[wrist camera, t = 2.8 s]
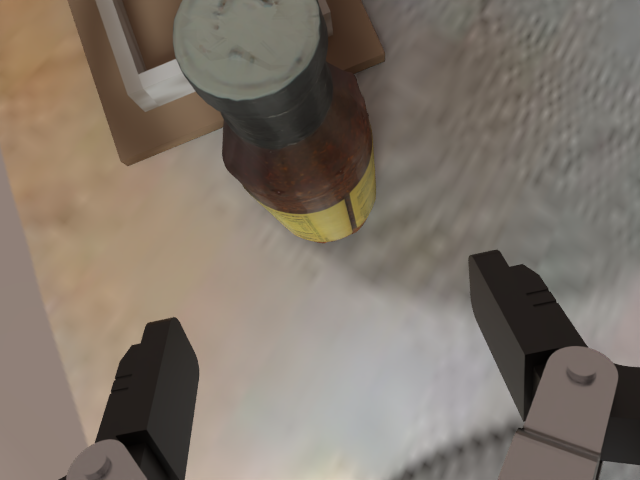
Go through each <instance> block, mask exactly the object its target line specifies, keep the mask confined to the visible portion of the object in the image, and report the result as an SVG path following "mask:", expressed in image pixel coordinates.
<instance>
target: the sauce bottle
mask: <svg viewBox="0 0 640 480" xmlns="http://www.w3.org/2000/svg"><path fill="white" fill-rule="evenodd" d="M173 47H174V53H175V58H176V60H177V62H178V64H179V67H180V69H181V71H182V73H183V75H184V76H185V78H186V79H187V80H188V82H189V83H190V84H191V86H192V87H193V89H194V90H195V91H196V93H197V94H198V95H199V96H200V97H201V98H202V99H203V100H204V101H205V102H206V103H207V104H209V105H210V106H212V107H213V108H214V109H216V110H217V111H219V112H220V113H221V115H222V117H223V119H224V123H223V147H222V156H223V161H224V164H225V167H226V168H227V170H228V171H229V172H230V173H231V174H232V175H233V176H234V177H235V178H236V179H237V180H238V181H240V183H241V184H242V185H243V187H244V188H245V189H246V190H247V191H248V193H249V194H250V195H251V196H252V197H253V198H255V199H256V200H257V201H258V202H259V203H260V204H261V205H262V206H263V207H264V208H266V209H267V210H268V211H269V212H270V213H271V214H272V215H273V216H274V217H275V218H276V219H277V220H279V221H280V222H281V223H282V224H283V225H284V226H285V227H286V228H287V229H288V230H289V231H291V232H292V233H293V234H294V235H296V236H298V237H301V238H303V239H306V240H310V241H314V242H319V243H326V242H330V241H336V240H339V239H342V238H344V237H347V236H349V235H350V234H353V233H355V232H357V231H358V230H359V229H360V228H361V226H362V225H363V224H364V222H365V221H366V219H367V217H368V216H369V213H370V211H371V210H372V207H373V204H374V202H375V197H376V182H375V167H374V153H373V137H372V129H371V125H370V122H369V118H368V116H369V115H368V113H367V110H366V105H365V101H364V98H363V96H362V94H361V92H360V90H359V87H358V84H357V79H356V77H355V76H354V74H353V73H351V72H346V71H344V70H342V69H340V68H338V67H336V66H334V65H332V64H330V63H328V62H327V61H326V56H327V50H328V31H327V26H326V22H325V19H324V17H323V15H322V11H321V8H320V6H319V2H318V0H182V2H181V4H180V6H179V9H178V11H177V13H176V15H175V18H174V24H173Z"/></svg>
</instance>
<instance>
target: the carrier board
mask: <svg viewBox="0 0 640 480" xmlns="http://www.w3.org/2000/svg"><path fill="white" fill-rule="evenodd" d="M181 2H182V0H68V3H69V6H70V9H71V12H72V15H73V18H74V21H75V24H76V27H77V30H78V33H79V36H80V39H81V42H82V45H83V48H84V52H85V55H86V58H87V61H88V64H89V67H90V70H91V73H92V76H93V79H94V82H95V85H96V88H97V91H98V94H99V97H100V100H101V103H102V106H103V109H104V112H105V115H106V118H107V121H108V124H109V127H110V130H111V133H112V136H113V139H114V143H115V146H116V149H117V152H118V155H119V158H120V161H121V162H122V163H124V164H125V165H127V166H129V165H132V164H134V163H136V162H139V161H141V160H144V159H146V158H149V157H151V156H154V155H156V154H158V153H161V152H163V151H166V150H168V149H171V148H173V147H176V146H178V145H181V144H183V143H185V142H188V141H190V140H193V139H195V138H198V137H200V136H203V135H205V134H207V133H210V132H212V131H215V130H217V129H220V128H222V127H223V123H224V119H223V117H222V115H221V113H220V112H219V111H217V110H216V109H214V108H213V107H212V106H210V105H209V104H207V103H206V102H205V101H204V100H203V99H202V98H201V97H200V96H199V95H198V94H197V93H196V91H195V90H194V89H193V87H192V86H191V84H190V83H189V82H188V80H187V79H186V78H185V76H184V75H183V73H182V71H181V69H180V67H179V64H178V62H177V60H176V58H175V53H174V47H173V24H174V18H175V15H176V13H177V11H178V9H179V6H180V4H181ZM318 2H319V6H320V8H321V11H322V15H323V17H324V19H325V22H326V26H327V31H328V50H327V56H326V61H327V62H328V63H330V64H332V65H334V66H336V67H338V68H340V69H342V70H344V71H346V72H351V73H353V74H354V73H357V72H359V71H362V70H364V69H367V68H369V67H372V66H374V65H376V64H379V63H381V62H384V61H385V52H384V50H383V48H382V45H381V43H380V41H379V39H378V37H377V34H376V32H375V30H374V28H373V26H372V23H371V21H370V19H369V17H368V15H367V13H366V10H365V8H364V6H363V4H362V2H361V0H318Z"/></svg>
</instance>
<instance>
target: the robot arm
mask: <svg viewBox="0 0 640 480" xmlns="http://www.w3.org/2000/svg"><path fill="white" fill-rule="evenodd" d="M468 261H469V279H470V296H471V304H472V308H473V312H474V315H475V318H476V321H477V323H478V325H479V327H480V330H481V332H482V334H483V336H484V338H485V340H486V342H487V345H488V347H489V349H490V351H491V353H492V355H493V357H494V360H495V362H496V364H497V366H498V368H499V370H500V373H501V375H502V377H503V379H504V381H505V383H506V385H507V388H508V390H509V392H510V394H511V396H512V398H513V400H514V403H515V405H516V407H517V409H518V411H519V413H520V416H521V418H522V420H523V422H524V421H525V424H524V426H523V428H522V429H521V428H518V429H517V431H516V433H515V435H514V437H513V440H512V442H511V445H510V448H509V450H508V453H507V456H506V458H505V461H504V464H503V466H502V469H501V472H500V474H499V477H498V480H599V478H600V474H601V470H602V465H603V461H610V462H618V463H627V464H635V465H640V367H628V366H622V365H618V364H614V363H613V362H612V361H611V360H610V359H609V358H608V357H606V356H605V355H604V354H602V353H600V352H598V351H596V350H594V349H590V348H588V346H587V345H586V344H585V342H584V341H583V339H582V338H581V336H580V335H579V333H578V332H577V330H576V329H575V327H574V326H573V325H572V323H571V322H570V320H569V319H568V317H567V316H566V314H565V313H564V311H563V310H562V308H561V307H560V305H559V304H558V303H557V302H556V299H555V298H554V296H553V295H552V293H551V292H549V290H548V288H547V286H546V285H545V283H544V282H543V280H542V279H541V277H540V276H539V275H538V274H537V273H535V272H534V271H532V270H531V269H529V268H528V267H526V266H525V265H523V264H521V265H516V266H511V267H509V266H508V264H507V262H506V261H505V259H504V257H503V256H502V254H501V253H500V251H499V250H492V251H488V252H483V253H478V254H474V255H470V256H469V260H468ZM115 379H116V380H115V381H114V383H113V386H112V389H111V394H110V395H109V399H108V402H107V405H106V408H105V412H104V415H103V418H102V421H101V425H100V428H99V431H98V434H97V438H96V441H95V444H93V445H91V446H89V447H88V448H86V449H85V450H84V451H83V452H81V453H80V454H79V455H78V456H77V458H76V459H75V460H74V461H73V463H72V464H71V466H70V468H69V470H68V473H67V475H66V476H65V477H63V478H61V479H59V480H185V473H186V466H187V459H188V452H189V445H190V438H191V431H192V424H193V417H194V410H195V403H196V396H197V389H198V381H199V365H198V360H197V357H196V354H195V352H194V350H193V348H192V346H191V344H190V342H189V340H188V338H187V336H186V334H185V332H184V330H183V328H182V326H181V324H180V322H179V320H178V319H177V318H175V317H173V318H168V319H164V320H159V321H154V322H149V323H147V325H146V327H145V330H144V333H143V337H142V341H141V344H136V345H132V346H131V347H130V349H129V350H128V351H127V353H126V354H125V355H124V357H123V358H122V359H121V361H120V363H119V366H118V370H117V373H116V376H115Z"/></svg>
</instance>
